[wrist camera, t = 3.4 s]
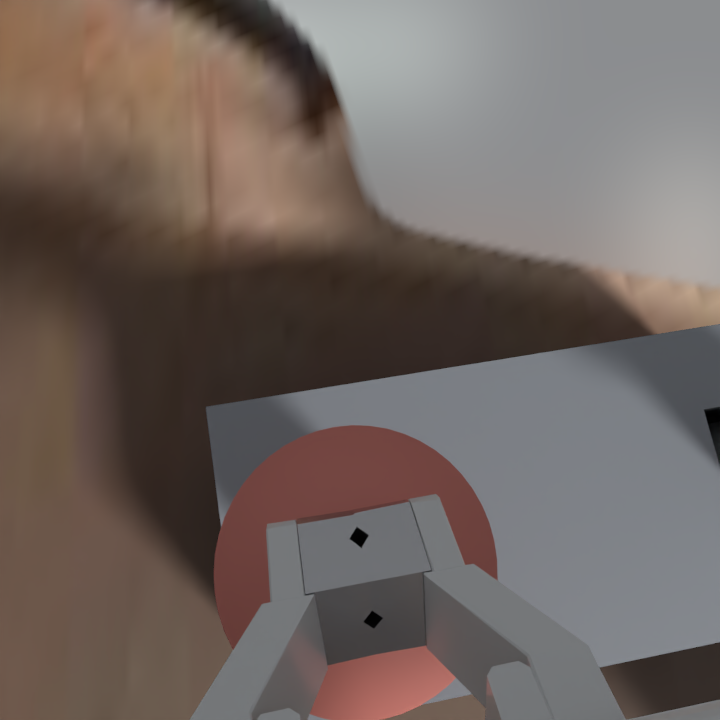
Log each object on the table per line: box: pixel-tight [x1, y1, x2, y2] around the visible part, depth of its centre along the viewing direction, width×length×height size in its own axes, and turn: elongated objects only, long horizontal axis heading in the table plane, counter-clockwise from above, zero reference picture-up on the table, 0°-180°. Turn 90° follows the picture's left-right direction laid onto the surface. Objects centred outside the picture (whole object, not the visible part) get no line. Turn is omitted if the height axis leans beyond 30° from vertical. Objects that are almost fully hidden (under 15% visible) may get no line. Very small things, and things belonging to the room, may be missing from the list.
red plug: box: [214, 425, 498, 720], centre depth 19 cm, size 5×5×14 cm
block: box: [206, 324, 720, 720], centre depth 27 cm, size 22×10×10 cm, turn 100°
